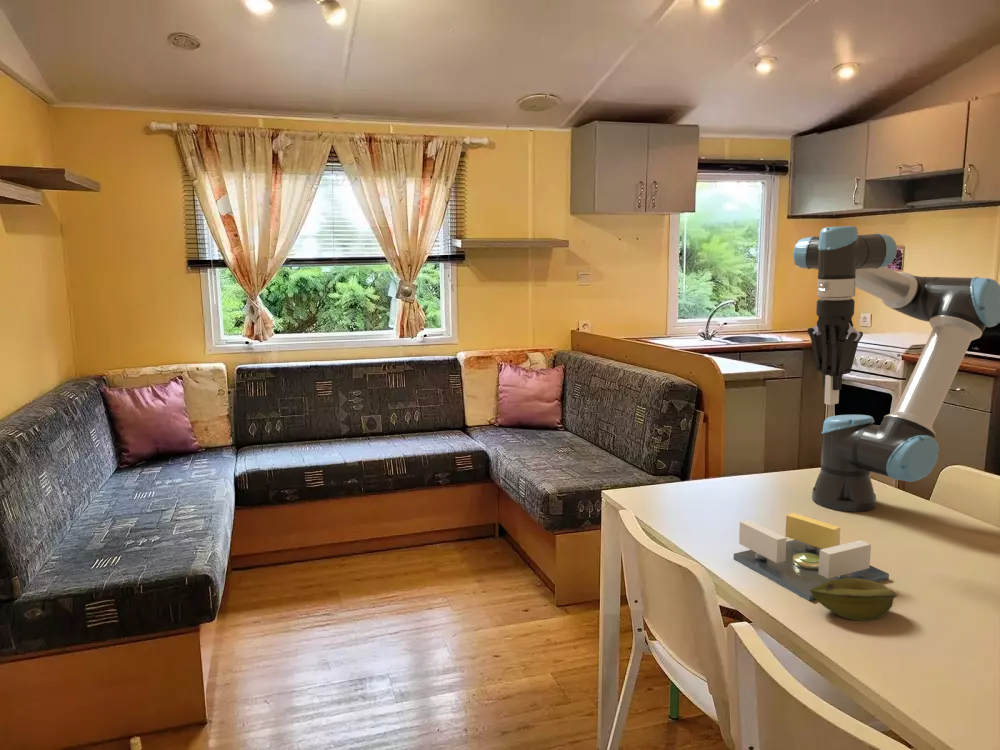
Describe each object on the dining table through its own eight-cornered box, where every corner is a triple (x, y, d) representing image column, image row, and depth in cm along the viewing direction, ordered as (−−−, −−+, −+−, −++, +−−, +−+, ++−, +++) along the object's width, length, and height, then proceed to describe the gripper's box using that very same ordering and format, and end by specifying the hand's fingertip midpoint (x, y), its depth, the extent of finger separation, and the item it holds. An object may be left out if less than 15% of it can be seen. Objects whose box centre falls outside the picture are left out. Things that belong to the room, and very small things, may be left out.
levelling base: (807, 541, 161) (807, 530, 160) (888, 579, 142) (889, 566, 141) (733, 558, 153) (733, 546, 153) (809, 601, 134) (810, 587, 133)
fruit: (878, 636, 121) (880, 600, 120) (807, 613, 130) (809, 579, 129) (898, 611, 129) (901, 578, 128) (830, 591, 138) (832, 559, 137)
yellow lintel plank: (785, 541, 158) (786, 515, 157) (791, 539, 159) (792, 512, 158) (832, 557, 149) (834, 529, 148) (838, 554, 150) (840, 527, 149)
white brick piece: (858, 568, 143) (860, 540, 142) (869, 573, 141) (871, 544, 140) (818, 579, 139) (819, 549, 138) (827, 584, 137) (829, 554, 136)
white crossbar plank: (738, 548, 155) (739, 521, 154) (747, 546, 155) (748, 520, 154) (776, 568, 145) (777, 539, 144) (785, 566, 145) (786, 537, 144)
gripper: (799, 298, 159) (796, 400, 163) (848, 300, 147) (843, 411, 151) (823, 296, 162) (820, 396, 166) (873, 298, 150) (868, 406, 154)
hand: (831, 403), depth 159 cm, fingers closed
